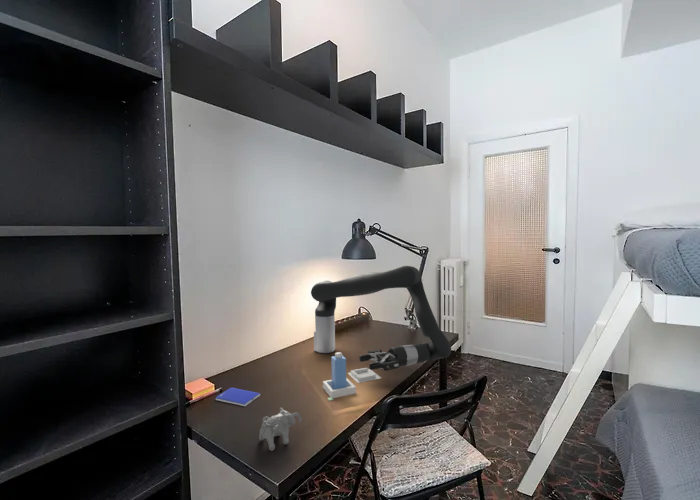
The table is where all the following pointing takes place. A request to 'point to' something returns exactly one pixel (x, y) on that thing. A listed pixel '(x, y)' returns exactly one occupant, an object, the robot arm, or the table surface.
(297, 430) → the table surface
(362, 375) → the white square tray
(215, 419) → the table surface
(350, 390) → the frame
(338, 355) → the blue square bottle
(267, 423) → the elephant statuette
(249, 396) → the hard drive
